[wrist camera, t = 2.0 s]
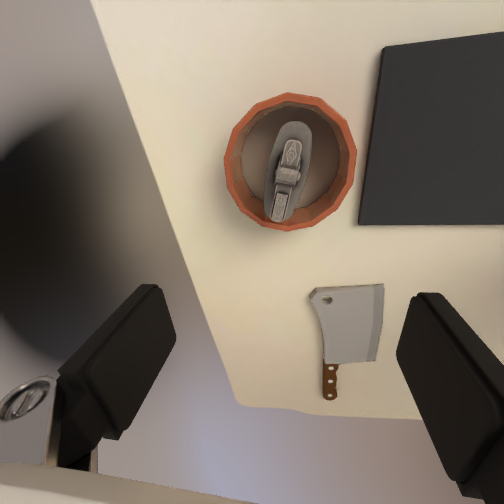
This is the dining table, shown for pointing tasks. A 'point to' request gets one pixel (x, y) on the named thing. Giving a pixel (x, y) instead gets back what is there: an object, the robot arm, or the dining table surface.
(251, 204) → the orange hollow ring
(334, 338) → the kitchen cleaver
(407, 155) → the mat
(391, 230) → the dining table surface
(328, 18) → the dining table surface
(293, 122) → the lighter
